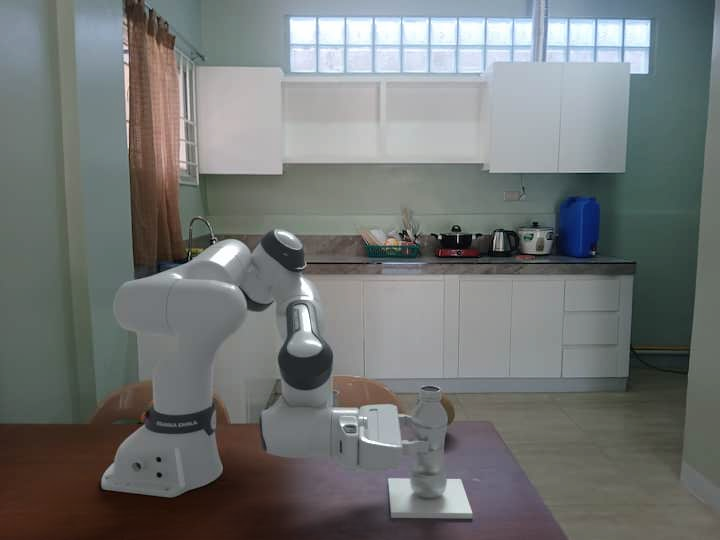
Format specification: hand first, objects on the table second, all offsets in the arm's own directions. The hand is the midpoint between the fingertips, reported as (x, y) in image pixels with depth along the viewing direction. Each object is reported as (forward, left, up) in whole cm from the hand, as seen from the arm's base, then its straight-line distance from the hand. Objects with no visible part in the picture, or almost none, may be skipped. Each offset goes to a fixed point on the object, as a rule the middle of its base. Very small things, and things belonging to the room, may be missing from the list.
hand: (425, 433), depth 104 cm
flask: (-18, +29, -13) cm, 37 cm away
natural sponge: (+6, +30, -13) cm, 33 cm away
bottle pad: (+1, 0, -13) cm, 13 cm away
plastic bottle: (+1, 0, -12) cm, 12 cm away
